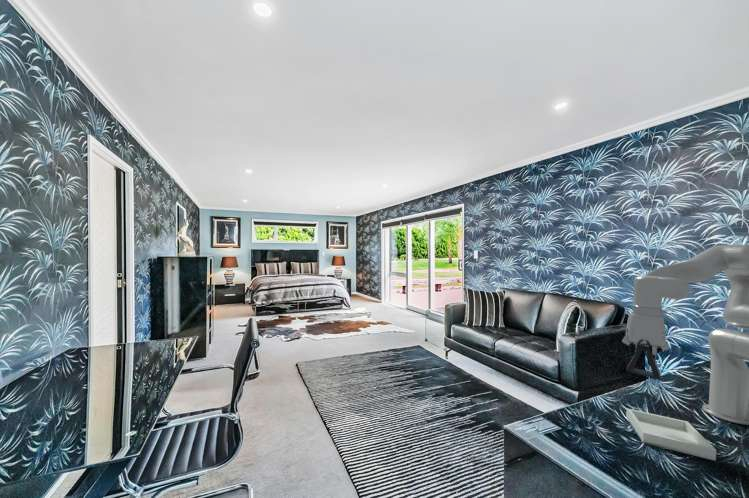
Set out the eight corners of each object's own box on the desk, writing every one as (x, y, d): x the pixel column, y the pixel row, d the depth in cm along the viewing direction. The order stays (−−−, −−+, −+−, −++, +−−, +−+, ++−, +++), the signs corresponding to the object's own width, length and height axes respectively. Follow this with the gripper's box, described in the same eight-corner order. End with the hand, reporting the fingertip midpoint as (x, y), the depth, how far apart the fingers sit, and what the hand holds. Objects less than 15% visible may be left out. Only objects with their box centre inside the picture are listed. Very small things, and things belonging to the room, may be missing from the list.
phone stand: (660, 375, 108) (662, 340, 108) (660, 379, 103) (662, 343, 103) (627, 367, 114) (629, 334, 114) (625, 371, 109) (627, 337, 110)
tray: (687, 430, 102) (687, 421, 102) (715, 460, 87) (716, 450, 87) (626, 416, 109) (626, 408, 109) (642, 442, 94) (643, 432, 94)
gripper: (673, 313, 108) (670, 366, 108) (615, 307, 116) (613, 356, 116) (681, 317, 102) (679, 373, 102) (620, 310, 109) (617, 362, 109)
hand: (644, 363), depth 109 cm, fingers closed on phone stand, 2 cm apart
